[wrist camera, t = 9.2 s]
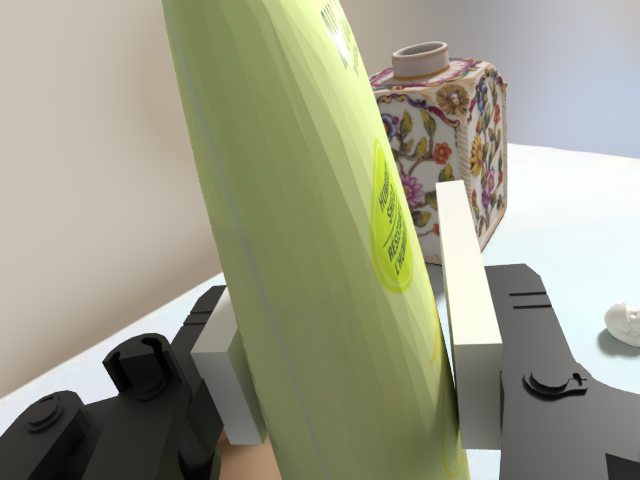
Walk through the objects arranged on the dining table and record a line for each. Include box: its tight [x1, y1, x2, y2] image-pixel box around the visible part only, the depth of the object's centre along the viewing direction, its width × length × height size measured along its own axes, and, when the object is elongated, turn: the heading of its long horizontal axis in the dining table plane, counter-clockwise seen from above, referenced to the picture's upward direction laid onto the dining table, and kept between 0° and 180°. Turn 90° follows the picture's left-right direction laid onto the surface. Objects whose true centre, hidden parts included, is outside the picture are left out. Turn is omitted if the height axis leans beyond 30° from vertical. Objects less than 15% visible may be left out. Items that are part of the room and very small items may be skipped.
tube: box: [162, 0, 471, 480], centre depth 10 cm, size 6×5×20 cm
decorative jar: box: [368, 42, 507, 265], centre depth 44 cm, size 12×12×18 cm
